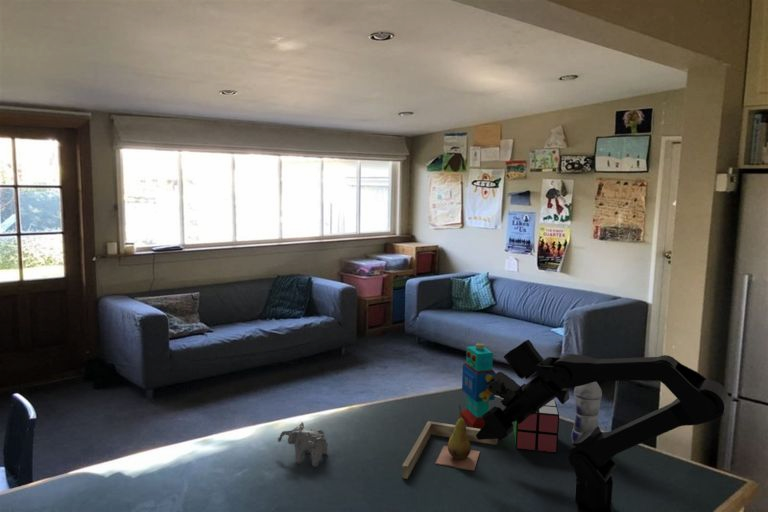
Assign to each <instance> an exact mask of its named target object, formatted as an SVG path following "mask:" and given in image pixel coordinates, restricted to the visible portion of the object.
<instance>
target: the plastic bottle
mask: <svg viewBox="0 0 768 512" xmlns="http://www.w3.org/2000/svg"><path fill="white" fill-rule="evenodd" d="M573 394H574V404H575V405H574V407H575V409H574V412H575V413H574V414H575V416H574V422H573V428H572V430H571V431H572V432H571V435H570V436H571V442H572V444H573V443H574V442H575V441H576V440H577V439H578V438H579V437H580V436H581V435H582V433H583V432H590V431H592V430H593V429H594V428H596V427H597V426H598V427H599V412H600V406H601V402H602V401H601V400H602V397H603V391H602V388H601V387H600V385H599V383H598V381H596V382H592V383H588V384H585V385H582V386H577V387H574V389H573Z"/></svg>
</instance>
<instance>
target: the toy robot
mask: <svg viewBox="0 0 768 512" xmlns="http://www.w3.org/2000/svg"><path fill="white" fill-rule="evenodd" d="M479 336H480V337H481V338H483V336H482V335H480V334H478V335H477V337H479ZM477 341H478V342H477V343H476V344H475V345H471V346H466V358H465V359H466V360H465V362H464V363H463V364H462V378H461V379H462V381H461V382H462V383H461V391H462V392H463V393H465V394H466V408H465V409H463V410H461V416H462V418H463V419H464V421H465V425H467V427H471V428H477V429H481V428H482V427H483V425H484V424H485V421H484V420H483V418H482V415H484V414H485V413H486V412H488V411H489V405H490V401H494V400H495V397H496V395H494V394H493V393H492V392H490V391H489V390H488V388H487V385H488V384H487V382H488V381H490V380H491V378H492V376H493V375H494V374H496V373H497V372H496V371H495V370H493V361H494V359H493V356H494V352H492V351H491V350H489V349H487V348H486V347H485V344H484V343H483V342H480V341H479V340H477ZM461 416H460V415H459V419H460V418H461Z"/></svg>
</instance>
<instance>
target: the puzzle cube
mask: <svg viewBox="0 0 768 512" xmlns="http://www.w3.org/2000/svg"><path fill="white" fill-rule="evenodd" d="M559 425H560V413H559V409H558V405H557V402H556V400H555V399H553V400H551V401H550V402H549V403H547V404H546V405H544V406H543V407H542V408H540V409H539V410H538V411H537V412H536V413H534V414H533V415H530V416H529V417H528V418H526V419H525V420H524V421H523V422H521V423H520V424H519V423H518V422H517V421H514V427H513V432H514V442H515V443H514V444H515V445H514V446H515V449H517V450H518V449H519V450H525V449H526V450H528V451H534V450H535V451H537V452H544V451H546V452H547V453H553V452H556V453H558V447H559V446H558V444H559V428H560V426H559ZM526 450H525V451H526ZM546 452H545V453H546Z"/></svg>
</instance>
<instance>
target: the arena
mask: <svg viewBox="0 0 768 512" xmlns="http://www.w3.org/2000/svg"><path fill="white" fill-rule="evenodd" d="M455 425H456V424H451V423H450V424H449V423H442V422H438V421H437V422H436V421H429V420H428V421H427V422H426V424H425V426H424V428H423V429H422V431H421V433H420V435H419V436H418V438H417V439H416V442H415V443H414V444H413V446H412V448H411V450H410V452H409V453H408V455H407V457H406V458H405V460H404V462H403V463H402V468H401V469H402V470H401V472H402V473H401V474H402V475H401V479H406V480H408V478H409V477H410V475H411V473H412V471H413V470H414V467H415V466H416V463H417V462H418V460H419V458H420V457H421V454H422V452H423V451H424V449H425V447H426V445H427V444H428V442H429V440H430V438H431V435H432V436H440V437H445V438H450V437H451V436H452V434H453V432H454V428H455ZM479 431H480V429H477V428H471V427H469V426H466V435H467V438H468V440H469V442H477V443H482V444H489V445H496V446H497V445H498V441H499V440H498V439H484V440H478V438H477V437H476V435H477V433H478V432H479ZM427 441H428V442H427ZM480 454H481V451H479V450H473V449H471V450H470V453H469V455H468V456H467V457H466V458H464V459H455V458H454V457H452V456H451V454H450V453H449V451H448V445H443V446H442V448H441V451H440V453H439V456H438V457H437V459H436V461H435V465H440V466H445V467H451V468H455V469H461V470H469V471H472V472H474V471H475V469H476V465H477V462H478V459H479V456H480Z"/></svg>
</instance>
